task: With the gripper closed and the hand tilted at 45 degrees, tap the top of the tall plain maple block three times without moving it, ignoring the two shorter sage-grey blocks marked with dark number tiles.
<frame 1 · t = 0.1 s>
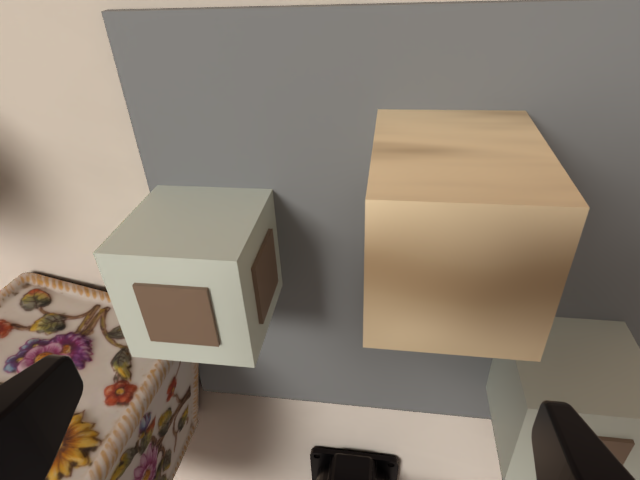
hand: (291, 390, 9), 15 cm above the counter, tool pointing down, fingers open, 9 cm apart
plain maple block: (442, 175, 21), resting on slate rubber mat
decorative jar: (121, 349, 32), on the counter, touching slate rubber mat
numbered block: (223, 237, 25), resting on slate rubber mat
slate rubber mat: (402, 256, 25), on the counter
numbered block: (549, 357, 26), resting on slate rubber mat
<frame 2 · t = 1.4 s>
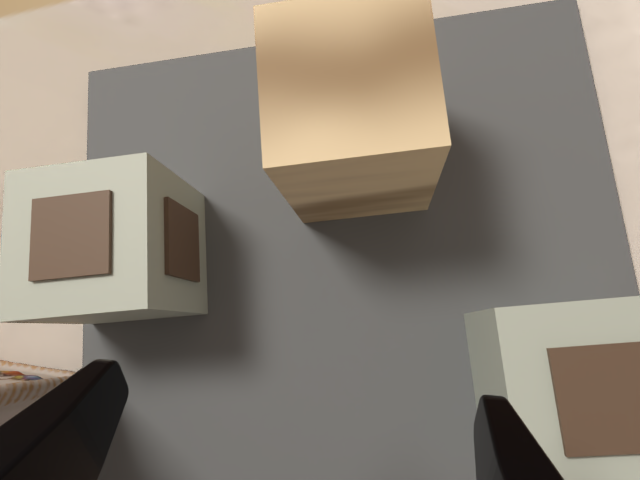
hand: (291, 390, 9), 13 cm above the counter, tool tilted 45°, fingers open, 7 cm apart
plain maple block: (358, 158, 23), resting on slate rubber mat
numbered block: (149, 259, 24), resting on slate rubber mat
slate rubber mat: (338, 261, 23), on the counter
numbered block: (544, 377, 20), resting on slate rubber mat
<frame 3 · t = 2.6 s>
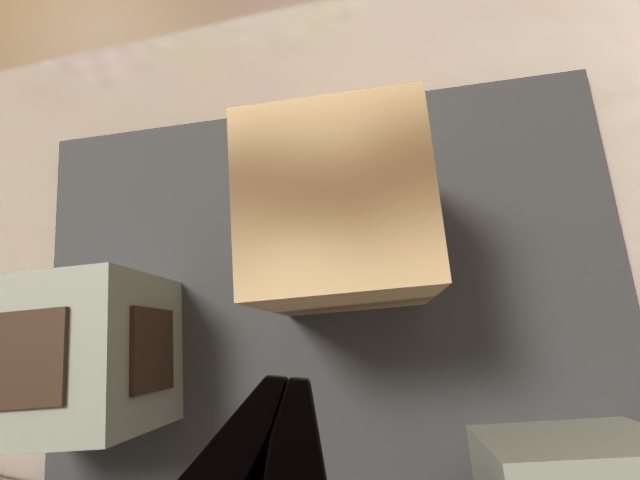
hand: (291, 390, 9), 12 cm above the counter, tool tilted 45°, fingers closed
plain maple block: (349, 243, 21), resting on slate rubber mat
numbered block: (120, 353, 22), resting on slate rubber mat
slate rubber mat: (327, 359, 21), on the counter
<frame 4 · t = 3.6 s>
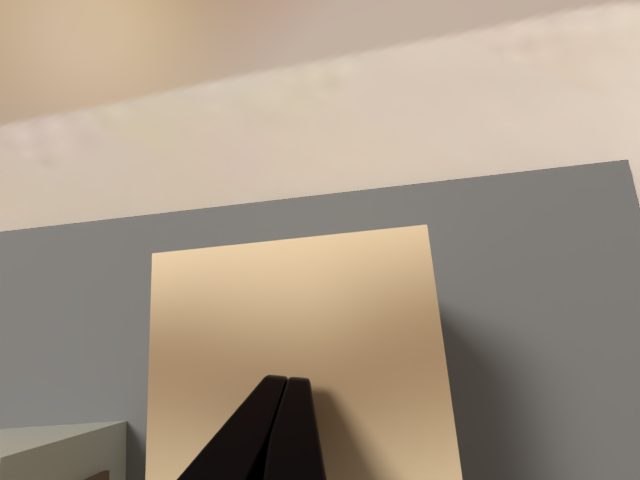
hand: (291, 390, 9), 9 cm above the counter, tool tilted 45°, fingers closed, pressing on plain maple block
plain maple block: (334, 378, 17), point 1 cm above the counter, touching gripper, slate rubber mat
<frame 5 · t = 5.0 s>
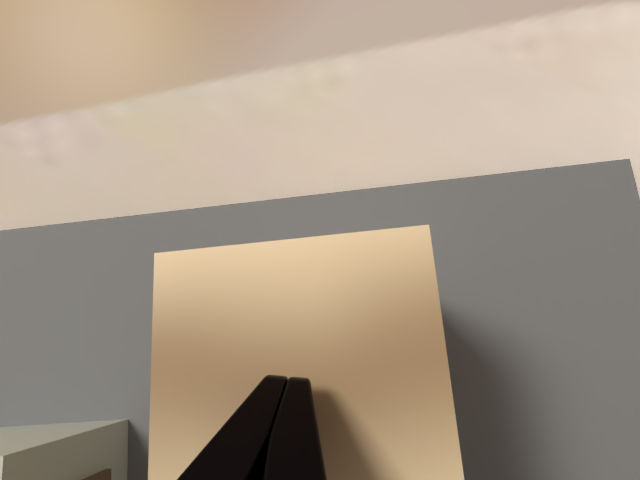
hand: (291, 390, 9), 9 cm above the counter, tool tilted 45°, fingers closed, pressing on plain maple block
plain maple block: (336, 377, 17), point 1 cm above the counter, touching gripper, slate rubber mat
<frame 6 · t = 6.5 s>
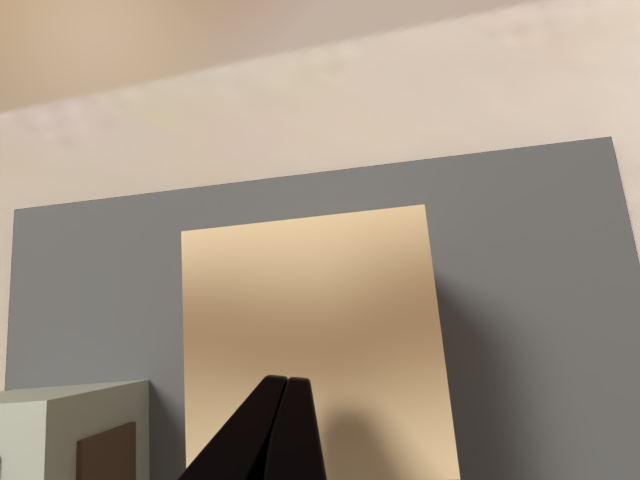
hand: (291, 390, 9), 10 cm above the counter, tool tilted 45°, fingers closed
plain maple block: (340, 339, 19), resting on slate rubber mat
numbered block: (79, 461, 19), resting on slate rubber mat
slate rubber mat: (314, 473, 18), on the counter
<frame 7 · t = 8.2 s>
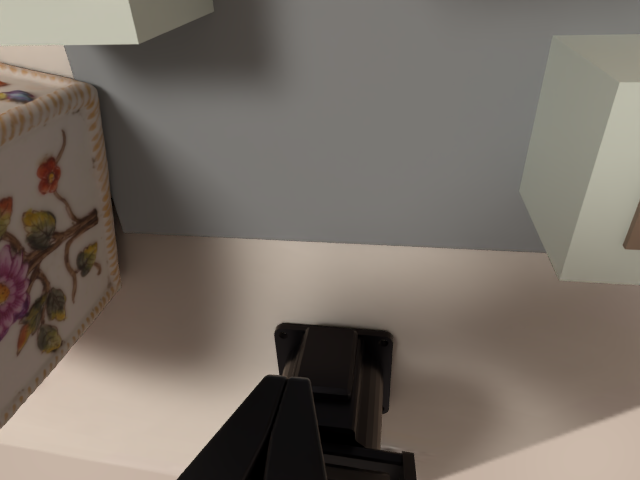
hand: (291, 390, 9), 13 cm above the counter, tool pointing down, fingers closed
decorative jar: (8, 171, 23), on the counter, touching slate rubber mat
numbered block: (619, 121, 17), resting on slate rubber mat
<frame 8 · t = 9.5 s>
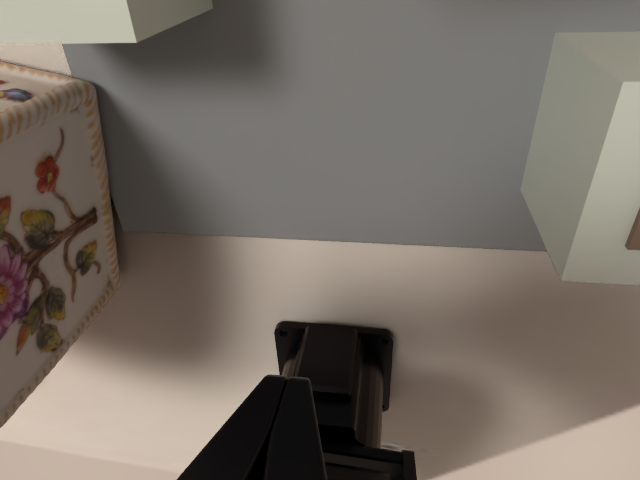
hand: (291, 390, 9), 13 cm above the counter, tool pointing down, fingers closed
decorative jar: (6, 169, 23), on the counter, touching slate rubber mat
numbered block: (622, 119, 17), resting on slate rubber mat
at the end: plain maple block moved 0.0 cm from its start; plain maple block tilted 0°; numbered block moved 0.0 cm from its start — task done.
